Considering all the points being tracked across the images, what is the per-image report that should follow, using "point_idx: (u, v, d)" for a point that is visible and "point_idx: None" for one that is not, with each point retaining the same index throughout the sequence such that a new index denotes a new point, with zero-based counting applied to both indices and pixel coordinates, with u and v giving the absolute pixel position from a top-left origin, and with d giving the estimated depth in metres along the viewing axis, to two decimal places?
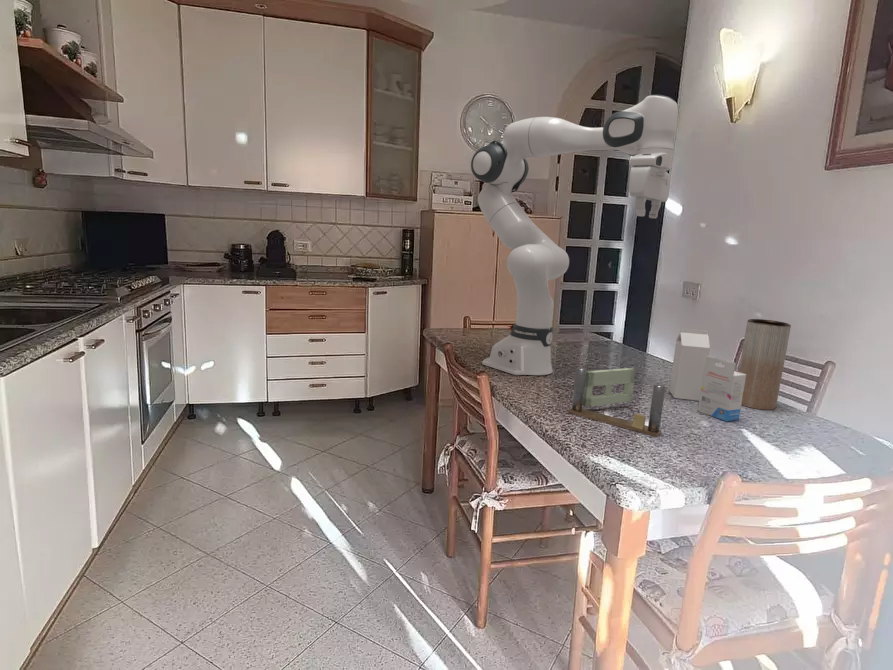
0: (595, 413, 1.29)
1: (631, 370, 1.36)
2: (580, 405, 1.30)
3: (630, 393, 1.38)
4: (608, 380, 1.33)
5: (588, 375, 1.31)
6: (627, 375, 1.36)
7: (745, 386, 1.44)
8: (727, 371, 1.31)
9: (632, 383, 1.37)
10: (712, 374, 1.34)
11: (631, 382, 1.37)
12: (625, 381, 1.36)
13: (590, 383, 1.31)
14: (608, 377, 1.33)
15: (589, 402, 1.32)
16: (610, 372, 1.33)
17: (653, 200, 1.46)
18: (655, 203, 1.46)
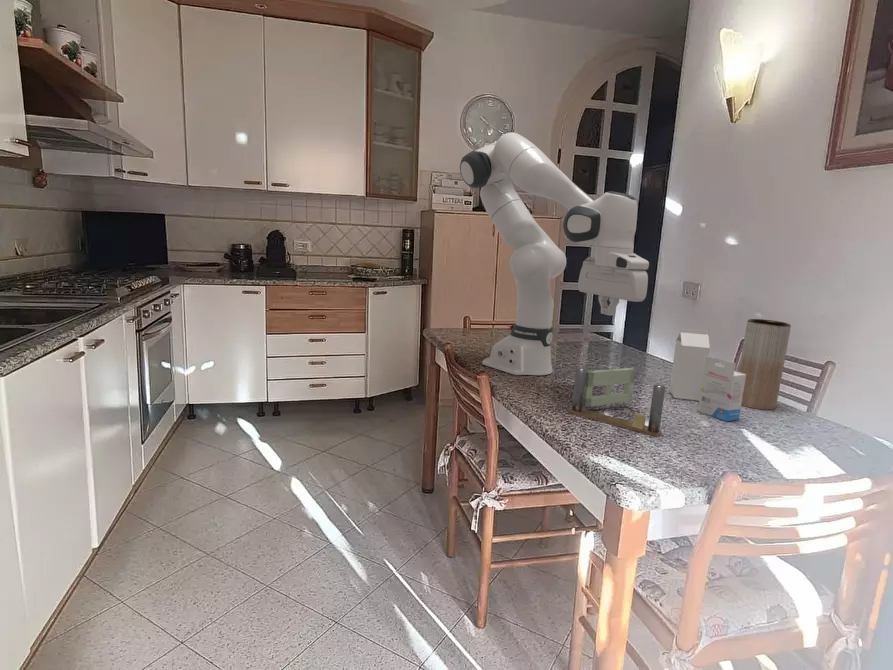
0: (595, 413, 1.29)
1: (631, 370, 1.36)
2: (580, 405, 1.30)
3: (630, 393, 1.38)
4: (608, 380, 1.33)
5: (588, 375, 1.31)
6: (627, 375, 1.36)
7: (745, 386, 1.44)
8: (727, 370, 1.31)
9: (632, 383, 1.37)
10: (712, 374, 1.34)
11: (631, 382, 1.37)
12: (625, 381, 1.36)
13: (590, 383, 1.31)
14: (608, 377, 1.33)
15: (589, 402, 1.32)
16: (610, 372, 1.33)
17: (604, 295, 1.36)
18: (605, 298, 1.37)
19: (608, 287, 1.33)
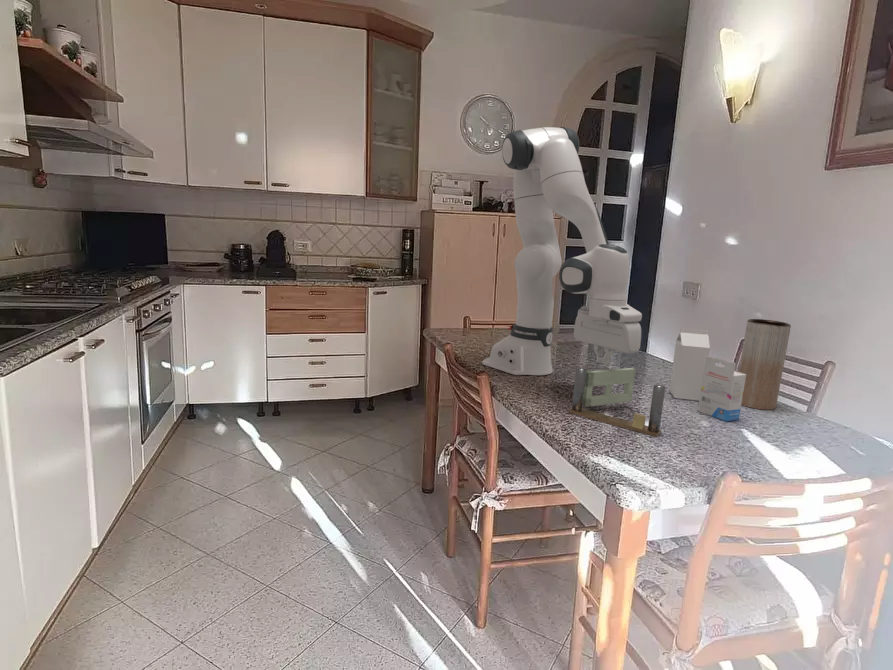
0: (595, 413, 1.29)
1: (631, 370, 1.36)
2: (580, 405, 1.30)
3: (630, 393, 1.38)
4: (608, 380, 1.33)
5: (588, 375, 1.31)
6: (627, 375, 1.36)
7: (745, 386, 1.44)
8: (727, 370, 1.31)
9: (632, 383, 1.37)
10: (712, 374, 1.34)
11: (631, 382, 1.37)
12: (625, 381, 1.36)
13: (590, 383, 1.31)
14: (608, 377, 1.33)
15: (589, 402, 1.32)
16: (610, 372, 1.33)
17: None
18: (600, 347, 1.39)
19: (603, 338, 1.35)
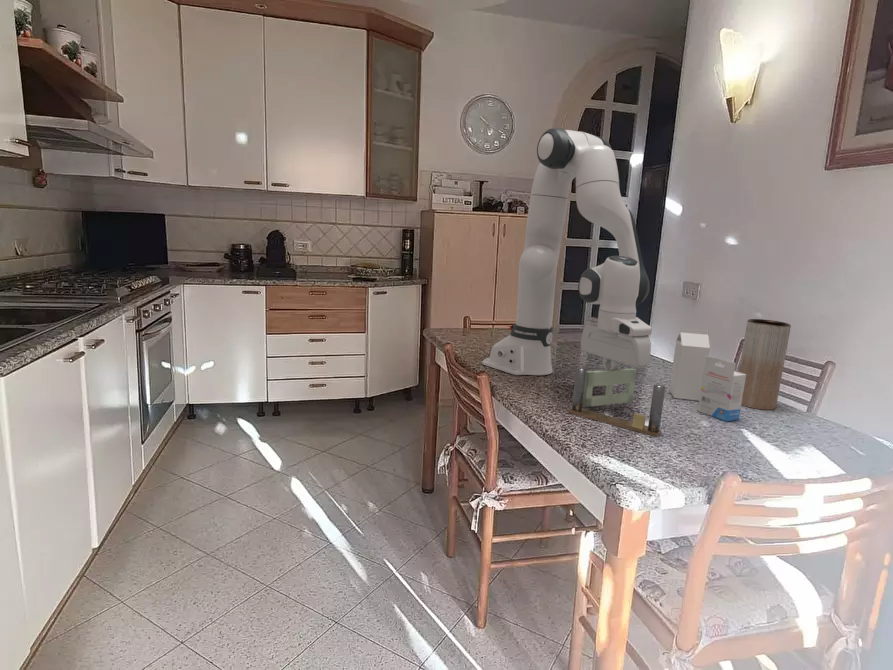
0: (595, 413, 1.29)
1: (632, 370, 1.36)
2: (580, 405, 1.30)
3: (631, 393, 1.37)
4: (608, 380, 1.33)
5: (588, 375, 1.31)
6: (628, 375, 1.36)
7: (745, 386, 1.44)
8: (727, 370, 1.31)
9: (633, 383, 1.37)
10: (712, 374, 1.34)
11: (632, 383, 1.37)
12: (626, 381, 1.36)
13: (590, 383, 1.31)
14: (608, 377, 1.33)
15: (589, 402, 1.32)
16: (610, 372, 1.33)
17: None
18: (609, 360, 1.37)
19: (611, 351, 1.34)
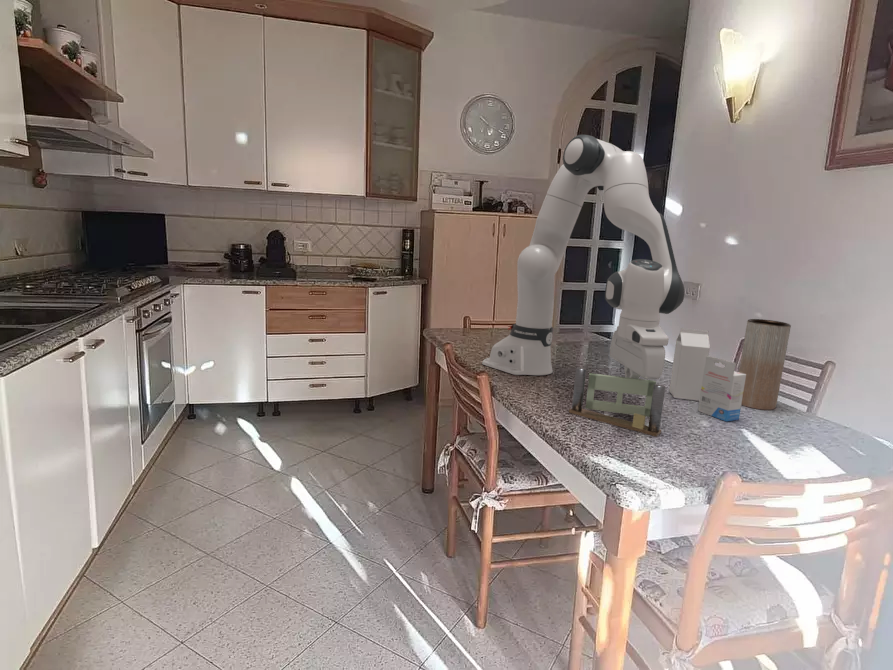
0: (595, 413, 1.29)
1: (649, 382, 1.26)
2: (580, 405, 1.30)
3: (649, 408, 1.27)
4: (616, 387, 1.28)
5: (589, 377, 1.29)
6: (643, 387, 1.26)
7: (745, 386, 1.44)
8: (727, 370, 1.31)
9: None
10: (712, 374, 1.34)
11: (650, 396, 1.26)
12: (641, 393, 1.27)
13: (591, 385, 1.29)
14: (616, 384, 1.28)
15: (590, 405, 1.30)
16: (618, 379, 1.27)
17: None
18: None
19: (629, 359, 1.27)
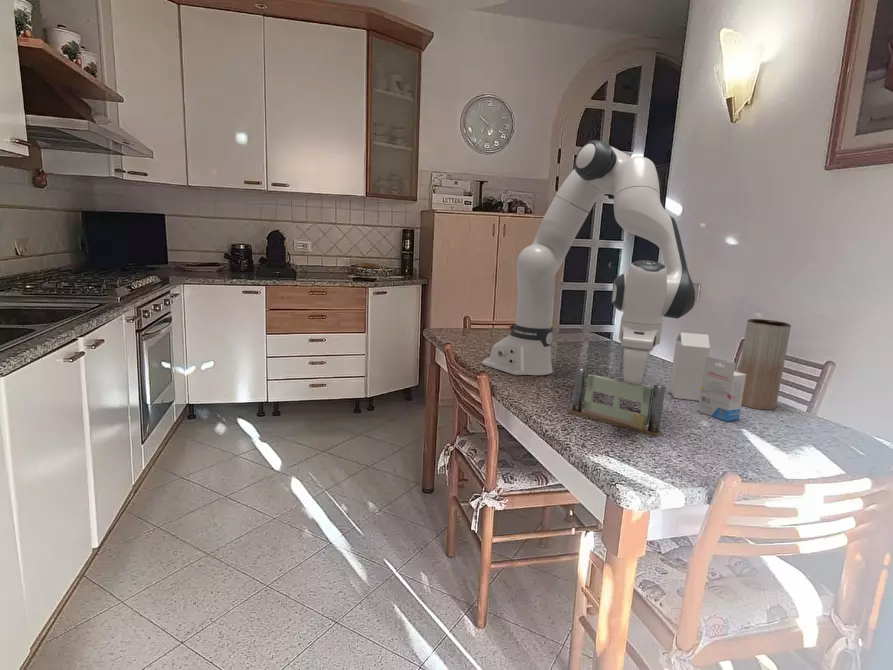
0: (595, 413, 1.29)
1: (644, 389, 1.20)
2: (580, 405, 1.30)
3: None
4: (612, 390, 1.25)
5: None
6: (638, 393, 1.21)
7: (745, 386, 1.44)
8: (727, 370, 1.31)
9: (647, 404, 1.20)
10: (712, 374, 1.34)
11: (645, 403, 1.20)
12: (636, 399, 1.21)
13: (589, 386, 1.28)
14: (612, 387, 1.25)
15: (588, 406, 1.29)
16: (614, 382, 1.24)
17: None
18: None
19: None
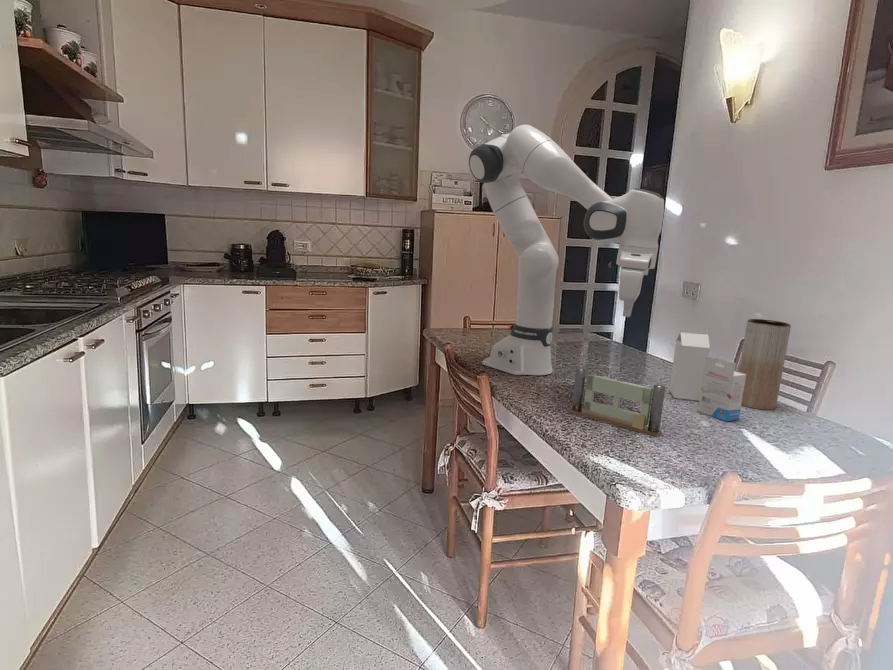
0: (595, 413, 1.29)
1: (644, 389, 1.20)
2: (580, 405, 1.30)
3: None
4: (612, 390, 1.25)
5: None
6: (638, 393, 1.21)
7: (745, 386, 1.44)
8: (727, 370, 1.31)
9: (647, 404, 1.20)
10: (712, 374, 1.34)
11: (645, 403, 1.20)
12: (636, 399, 1.21)
13: (589, 386, 1.28)
14: (612, 387, 1.25)
15: (588, 406, 1.29)
16: (614, 382, 1.24)
17: None
18: None
19: None
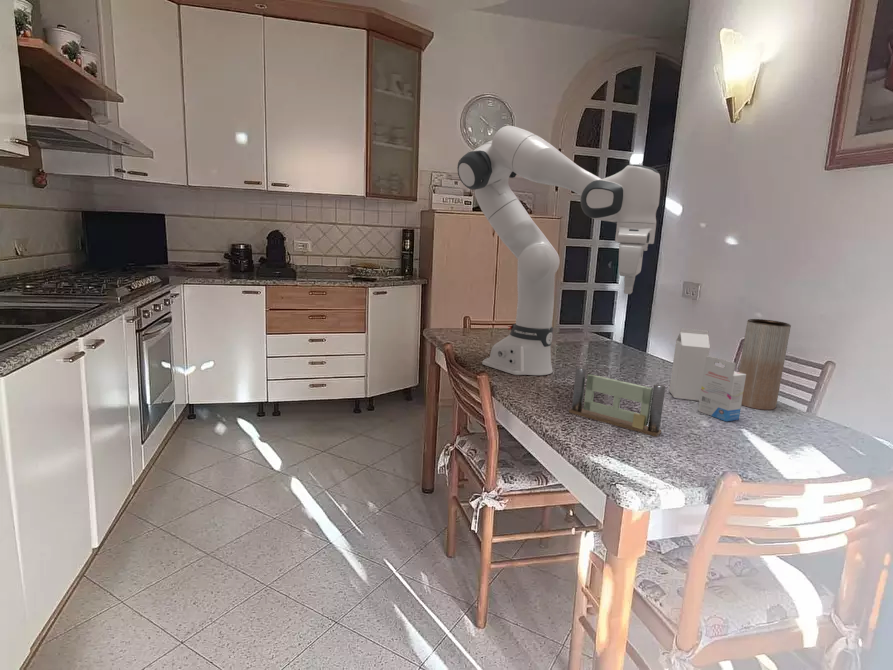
0: (595, 413, 1.29)
1: (644, 389, 1.20)
2: (580, 405, 1.30)
3: None
4: (612, 390, 1.25)
5: None
6: (638, 393, 1.21)
7: (745, 386, 1.44)
8: (727, 370, 1.31)
9: (647, 404, 1.20)
10: (712, 374, 1.34)
11: (645, 403, 1.20)
12: (636, 399, 1.21)
13: (589, 386, 1.28)
14: (612, 387, 1.25)
15: (588, 406, 1.29)
16: (614, 382, 1.24)
17: None
18: None
19: None
